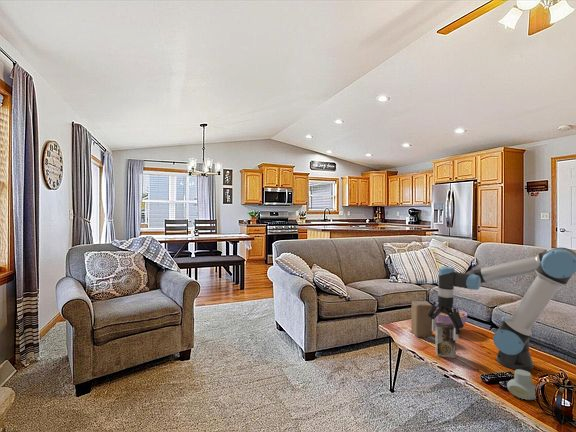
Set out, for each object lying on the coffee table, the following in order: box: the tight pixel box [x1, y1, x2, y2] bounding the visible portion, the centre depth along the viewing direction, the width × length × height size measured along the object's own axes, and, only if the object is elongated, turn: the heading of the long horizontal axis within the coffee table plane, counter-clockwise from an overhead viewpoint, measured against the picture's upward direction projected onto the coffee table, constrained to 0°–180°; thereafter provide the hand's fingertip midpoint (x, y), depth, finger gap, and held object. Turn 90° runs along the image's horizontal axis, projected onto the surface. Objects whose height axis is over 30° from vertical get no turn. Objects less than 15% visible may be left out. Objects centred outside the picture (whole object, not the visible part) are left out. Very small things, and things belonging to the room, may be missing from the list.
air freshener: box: [506, 369, 537, 401], centre depth 137 cm, size 11×8×10 cm
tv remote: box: [424, 336, 435, 344], centre depth 191 cm, size 16×4×2 cm, turn 38°
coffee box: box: [434, 323, 457, 359], centre depth 175 cm, size 9×6×16 cm
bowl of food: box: [434, 307, 468, 331], centre depth 213 cm, size 20×20×12 cm
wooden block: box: [410, 300, 434, 338], centre depth 203 cm, size 10×10×20 cm
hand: (444, 335), depth 175 cm, fingers open, 13 cm apart
